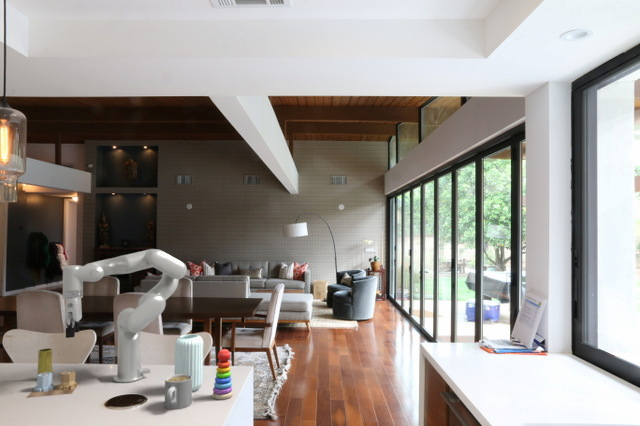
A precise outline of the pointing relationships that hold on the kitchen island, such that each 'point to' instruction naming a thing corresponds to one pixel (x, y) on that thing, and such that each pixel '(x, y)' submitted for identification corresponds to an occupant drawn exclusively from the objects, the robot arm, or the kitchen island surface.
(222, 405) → the kitchen island surface
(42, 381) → the gear
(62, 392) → the board
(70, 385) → the oak gear
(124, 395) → the kitchen island surface
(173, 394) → the coffee mug
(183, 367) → the vase
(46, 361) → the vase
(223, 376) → the stacking toy
